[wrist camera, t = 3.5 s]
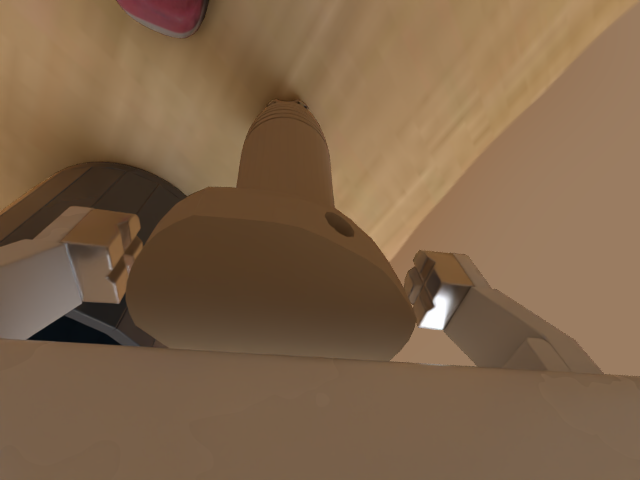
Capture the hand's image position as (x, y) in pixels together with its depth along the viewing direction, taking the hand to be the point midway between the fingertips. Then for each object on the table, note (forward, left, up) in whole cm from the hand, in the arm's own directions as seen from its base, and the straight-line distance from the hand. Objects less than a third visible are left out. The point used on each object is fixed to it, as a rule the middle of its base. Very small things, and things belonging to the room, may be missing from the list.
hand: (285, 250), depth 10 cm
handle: (0, 0, -12) cm, 12 cm away
